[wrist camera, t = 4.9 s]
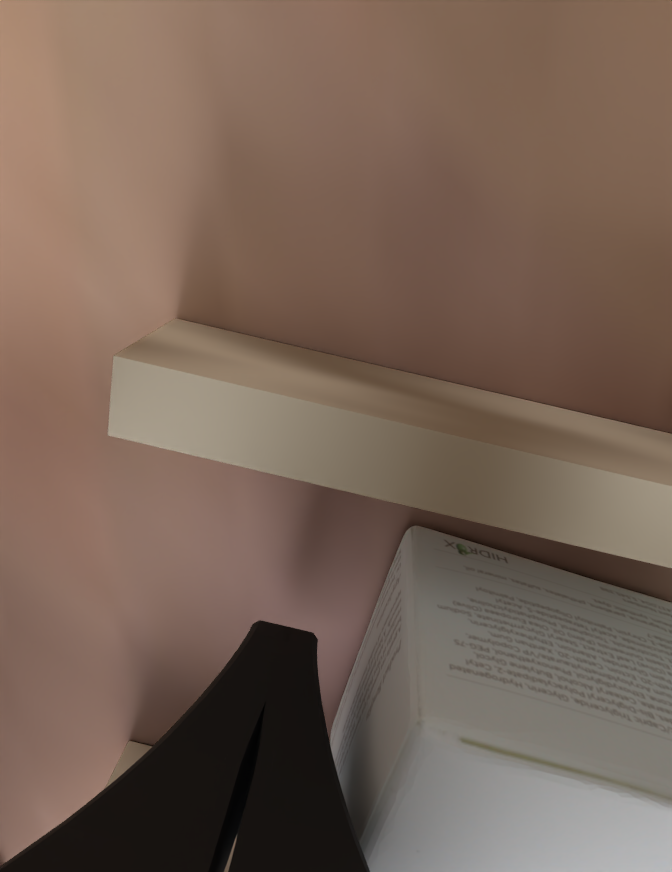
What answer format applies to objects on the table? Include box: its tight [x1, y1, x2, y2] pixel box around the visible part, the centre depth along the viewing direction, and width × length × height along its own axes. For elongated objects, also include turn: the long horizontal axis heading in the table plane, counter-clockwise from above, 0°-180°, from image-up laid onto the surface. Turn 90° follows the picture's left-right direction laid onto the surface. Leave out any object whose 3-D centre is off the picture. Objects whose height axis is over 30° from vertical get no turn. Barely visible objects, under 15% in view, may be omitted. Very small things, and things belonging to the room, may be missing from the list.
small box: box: [330, 525, 672, 872], centre depth 11 cm, size 6×6×5 cm
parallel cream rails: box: [106, 318, 672, 872], centre depth 12 cm, size 15×11×2 cm
